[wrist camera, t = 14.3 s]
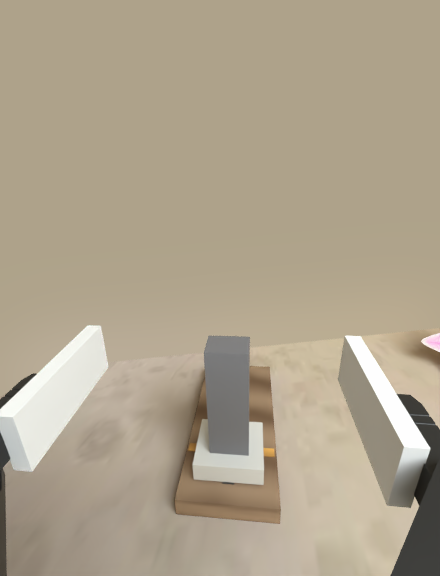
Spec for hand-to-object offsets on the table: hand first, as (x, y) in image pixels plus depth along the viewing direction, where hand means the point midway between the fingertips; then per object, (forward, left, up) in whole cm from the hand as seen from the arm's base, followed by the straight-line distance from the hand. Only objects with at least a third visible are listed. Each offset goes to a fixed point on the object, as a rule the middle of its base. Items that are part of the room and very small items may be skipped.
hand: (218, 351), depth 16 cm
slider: (0, +10, -20) cm, 22 cm away
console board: (0, +16, -22) cm, 27 cm away
